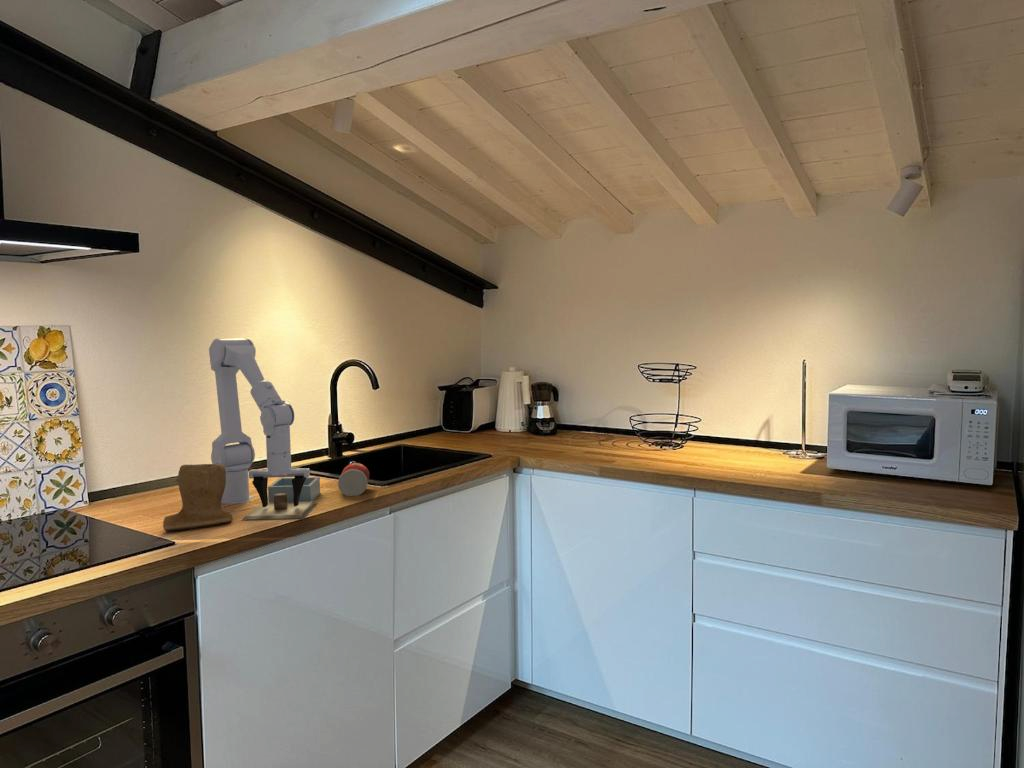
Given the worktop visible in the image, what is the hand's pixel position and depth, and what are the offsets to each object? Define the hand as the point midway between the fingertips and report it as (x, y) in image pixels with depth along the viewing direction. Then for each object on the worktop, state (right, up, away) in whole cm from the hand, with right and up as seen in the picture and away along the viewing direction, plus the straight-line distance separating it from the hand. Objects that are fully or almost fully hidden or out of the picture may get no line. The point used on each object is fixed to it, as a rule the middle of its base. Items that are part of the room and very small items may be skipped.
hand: (280, 505), depth 172 cm
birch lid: (0, -2, 0) cm, 2 cm away
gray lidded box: (-1, -1, +14) cm, 14 cm away
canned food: (+13, +4, +27) cm, 30 cm away
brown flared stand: (-16, -3, -10) cm, 19 cm away
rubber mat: (0, -2, 0) cm, 2 cm away
